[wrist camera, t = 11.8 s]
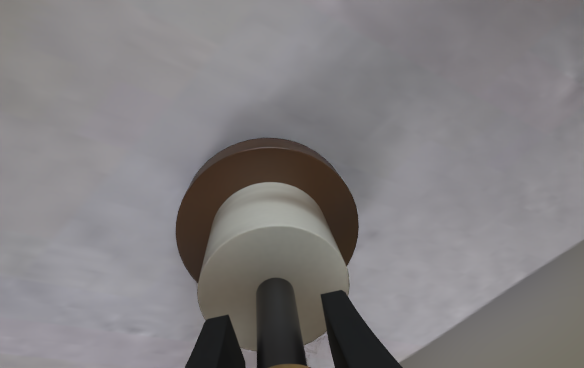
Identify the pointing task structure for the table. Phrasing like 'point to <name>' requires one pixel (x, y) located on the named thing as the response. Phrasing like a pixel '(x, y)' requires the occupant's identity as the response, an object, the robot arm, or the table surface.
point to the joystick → (268, 244)
